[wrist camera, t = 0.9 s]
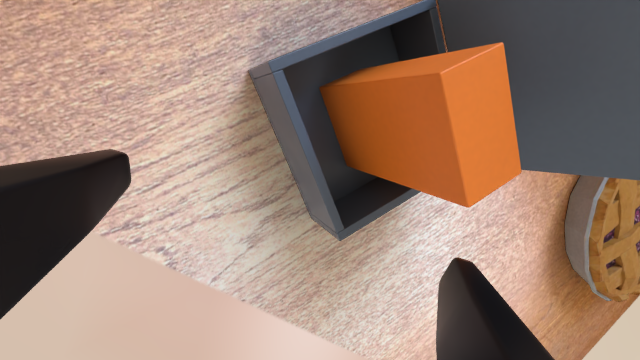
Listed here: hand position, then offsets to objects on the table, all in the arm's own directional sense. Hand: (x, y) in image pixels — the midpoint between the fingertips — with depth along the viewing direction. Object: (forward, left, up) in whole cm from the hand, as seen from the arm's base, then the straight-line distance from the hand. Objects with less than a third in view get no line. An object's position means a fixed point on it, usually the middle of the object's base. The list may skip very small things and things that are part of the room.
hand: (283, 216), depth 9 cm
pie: (+36, -33, -14) cm, 51 cm away
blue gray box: (+9, -3, -13) cm, 16 cm away
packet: (+9, -3, -13) cm, 16 cm away
